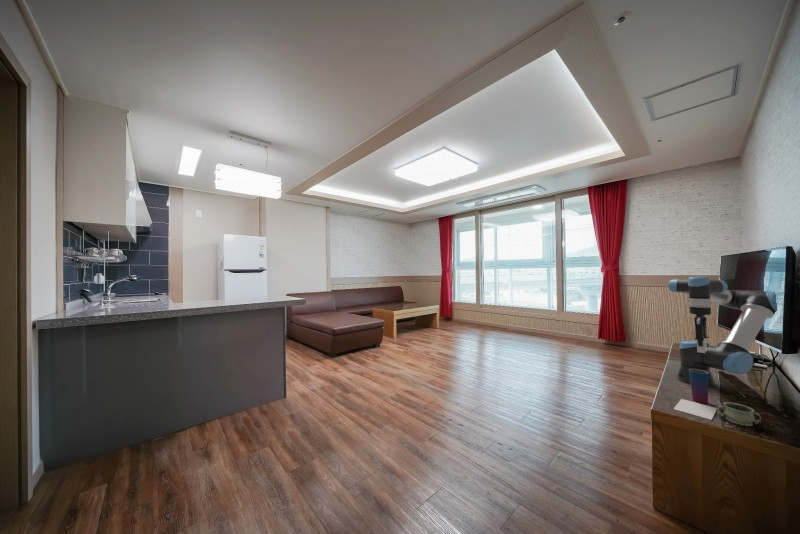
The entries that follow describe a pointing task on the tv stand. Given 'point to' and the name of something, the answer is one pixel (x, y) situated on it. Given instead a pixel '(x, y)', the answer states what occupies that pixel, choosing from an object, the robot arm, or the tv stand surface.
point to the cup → (699, 385)
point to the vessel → (739, 414)
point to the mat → (696, 409)
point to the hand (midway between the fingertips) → (702, 351)
